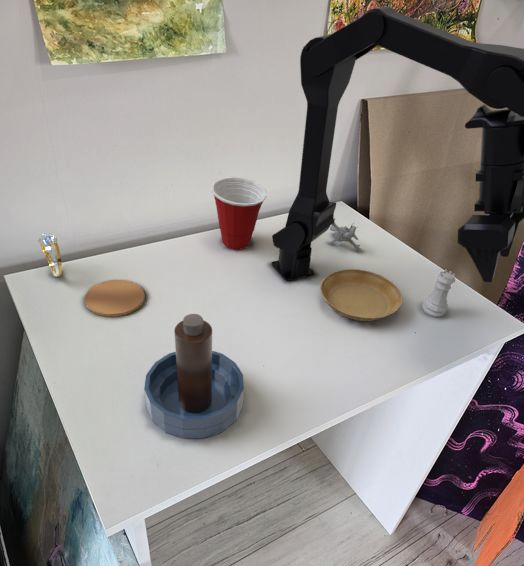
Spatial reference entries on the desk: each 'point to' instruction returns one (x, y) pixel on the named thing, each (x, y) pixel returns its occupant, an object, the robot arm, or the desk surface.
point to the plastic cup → (237, 209)
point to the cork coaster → (114, 298)
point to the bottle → (194, 363)
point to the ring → (51, 253)
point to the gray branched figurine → (345, 234)
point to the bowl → (186, 424)
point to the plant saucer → (360, 294)
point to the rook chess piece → (439, 295)
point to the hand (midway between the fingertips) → (496, 268)
